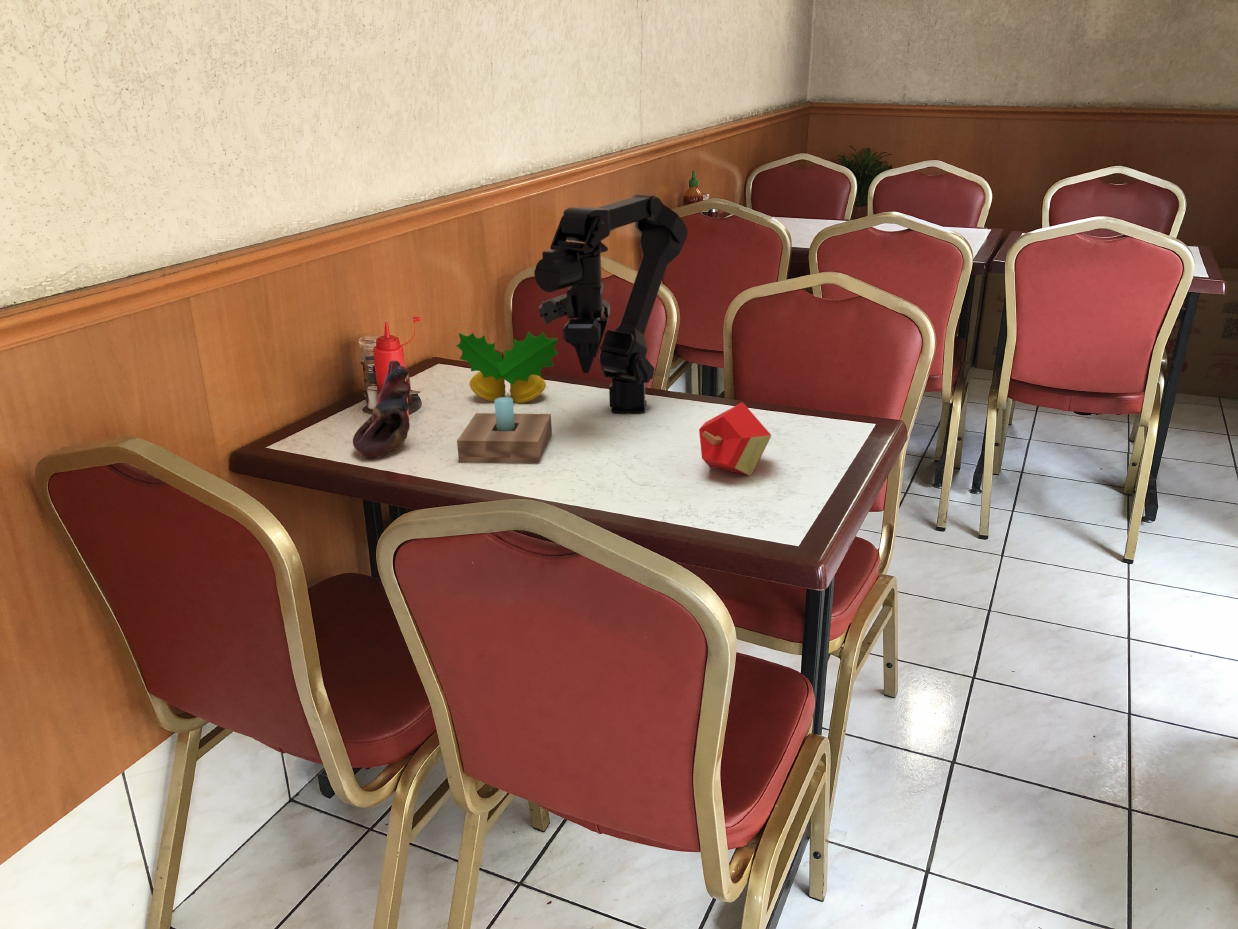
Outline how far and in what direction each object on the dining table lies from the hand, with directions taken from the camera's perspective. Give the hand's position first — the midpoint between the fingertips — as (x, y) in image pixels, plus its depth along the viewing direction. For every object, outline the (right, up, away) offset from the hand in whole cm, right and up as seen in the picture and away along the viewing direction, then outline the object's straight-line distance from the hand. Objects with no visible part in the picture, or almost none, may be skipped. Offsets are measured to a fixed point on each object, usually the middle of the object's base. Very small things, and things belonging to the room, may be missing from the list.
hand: (589, 365), depth 178 cm
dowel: (-15, -14, -5) cm, 21 cm away
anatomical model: (-37, -16, -4) cm, 40 cm away
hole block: (-15, -15, -5) cm, 22 cm away
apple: (+24, -19, -16) cm, 35 cm away
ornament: (-16, -5, +20) cm, 26 cm away
